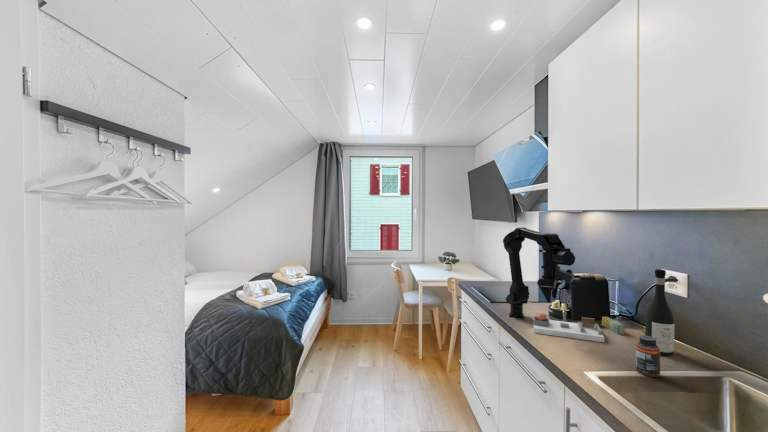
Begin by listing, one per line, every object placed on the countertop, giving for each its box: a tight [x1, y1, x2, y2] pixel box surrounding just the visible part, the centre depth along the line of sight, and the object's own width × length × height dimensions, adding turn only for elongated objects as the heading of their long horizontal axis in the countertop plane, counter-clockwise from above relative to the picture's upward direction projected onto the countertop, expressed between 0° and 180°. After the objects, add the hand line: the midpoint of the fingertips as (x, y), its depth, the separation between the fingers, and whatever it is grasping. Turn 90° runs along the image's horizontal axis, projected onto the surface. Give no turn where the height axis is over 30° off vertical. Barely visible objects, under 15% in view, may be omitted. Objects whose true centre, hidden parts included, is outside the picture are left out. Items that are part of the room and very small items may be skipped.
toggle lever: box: [561, 310, 568, 322], centre depth 140 cm, size 2×2×4 cm
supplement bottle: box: [635, 335, 661, 378], centre depth 103 cm, size 6×6×11 cm
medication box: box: [601, 316, 626, 336], centre depth 141 cm, size 12×3×4 cm, turn 176°
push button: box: [535, 312, 547, 321], centre depth 143 cm, size 4×4×2 cm
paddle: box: [581, 316, 596, 328], centre depth 138 cm, size 1×4×4 cm, turn 66°
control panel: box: [533, 315, 605, 343], centre depth 139 cm, size 14×25×4 cm, turn 66°
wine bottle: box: [644, 268, 675, 356], centre depth 119 cm, size 8×8×30 cm
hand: (551, 300), depth 137 cm, fingers open, 9 cm apart
